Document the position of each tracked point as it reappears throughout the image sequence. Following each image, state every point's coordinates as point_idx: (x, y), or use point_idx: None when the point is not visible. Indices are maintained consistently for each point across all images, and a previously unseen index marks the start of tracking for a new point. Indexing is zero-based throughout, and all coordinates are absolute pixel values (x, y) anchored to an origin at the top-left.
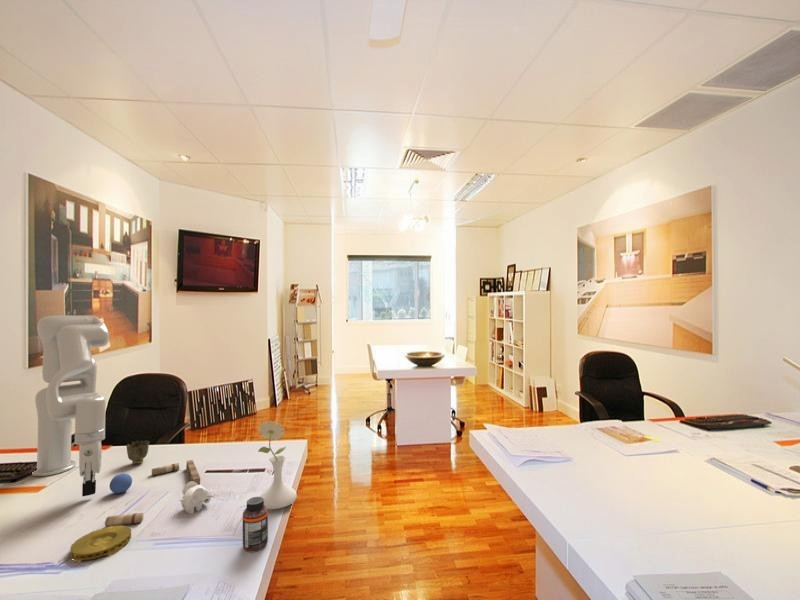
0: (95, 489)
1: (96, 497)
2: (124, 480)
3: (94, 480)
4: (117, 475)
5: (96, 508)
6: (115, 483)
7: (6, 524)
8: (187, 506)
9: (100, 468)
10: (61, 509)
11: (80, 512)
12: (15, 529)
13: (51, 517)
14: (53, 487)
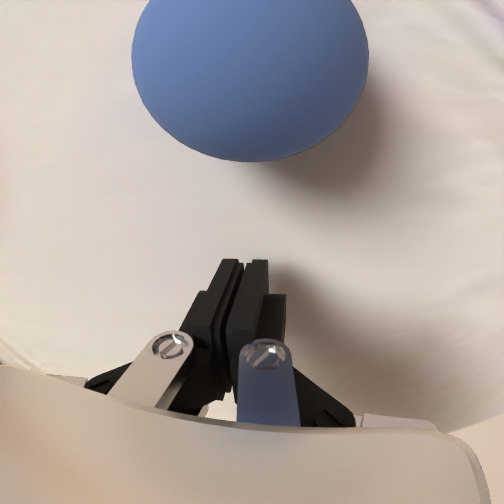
0: (234, 269)
1: (253, 231)
2: (347, 3)
3: (253, 346)
4: (239, 71)
5: (460, 226)
6: (353, 101)
7: None
8: None
9: (218, 443)
10: (319, 372)
11: (443, 299)
12: None
13: (386, 388)
14: (52, 367)
